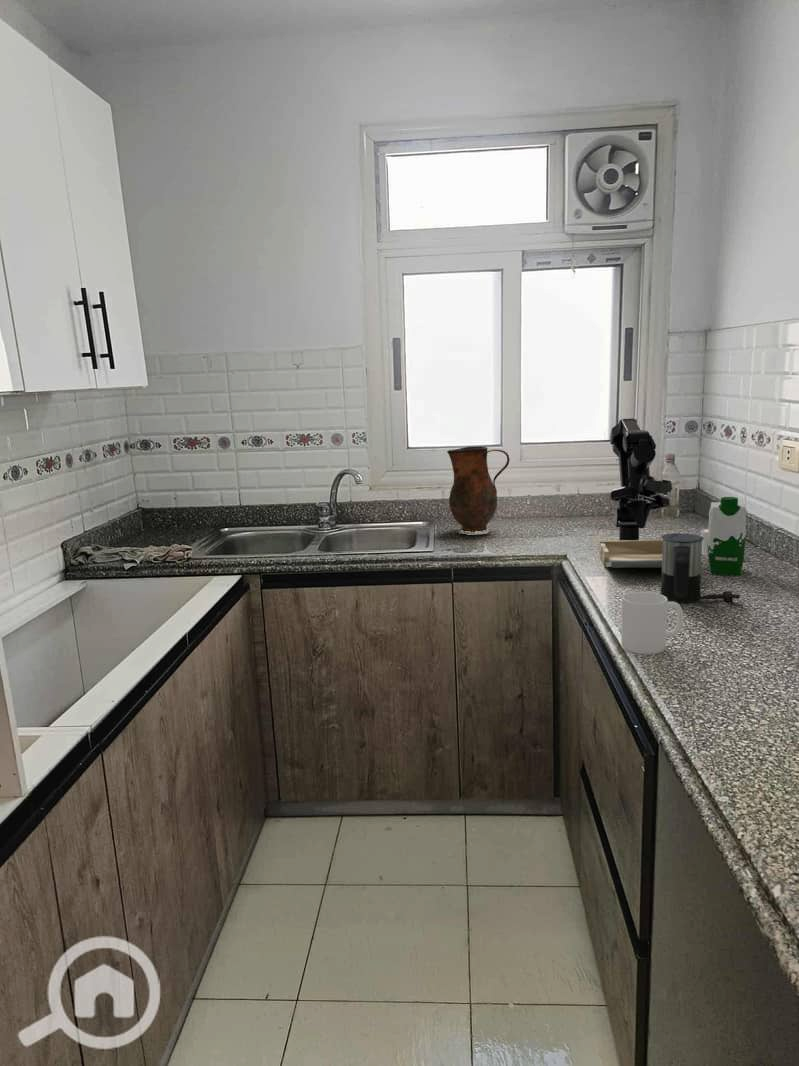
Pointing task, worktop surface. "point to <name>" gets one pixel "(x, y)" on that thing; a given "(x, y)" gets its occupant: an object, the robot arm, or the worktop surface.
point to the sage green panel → (634, 563)
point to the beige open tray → (631, 551)
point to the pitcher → (473, 488)
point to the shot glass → (704, 541)
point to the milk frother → (684, 569)
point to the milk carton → (726, 536)
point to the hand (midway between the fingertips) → (641, 528)
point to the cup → (647, 622)
